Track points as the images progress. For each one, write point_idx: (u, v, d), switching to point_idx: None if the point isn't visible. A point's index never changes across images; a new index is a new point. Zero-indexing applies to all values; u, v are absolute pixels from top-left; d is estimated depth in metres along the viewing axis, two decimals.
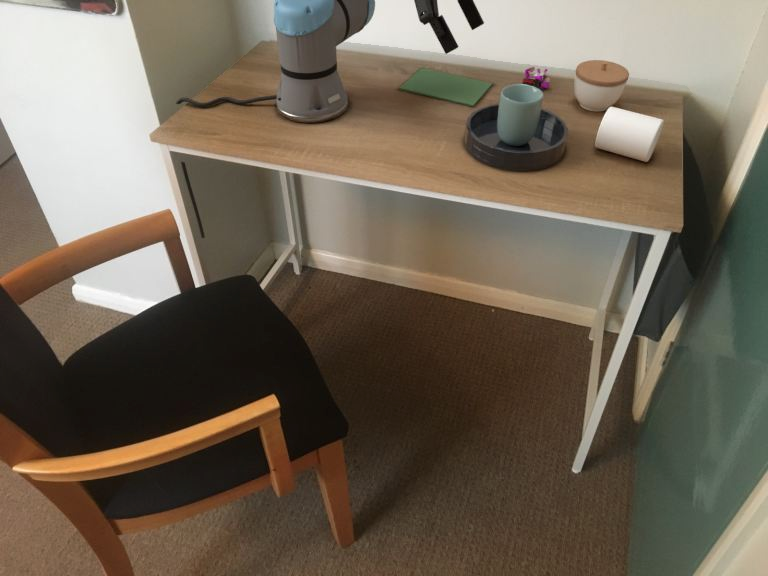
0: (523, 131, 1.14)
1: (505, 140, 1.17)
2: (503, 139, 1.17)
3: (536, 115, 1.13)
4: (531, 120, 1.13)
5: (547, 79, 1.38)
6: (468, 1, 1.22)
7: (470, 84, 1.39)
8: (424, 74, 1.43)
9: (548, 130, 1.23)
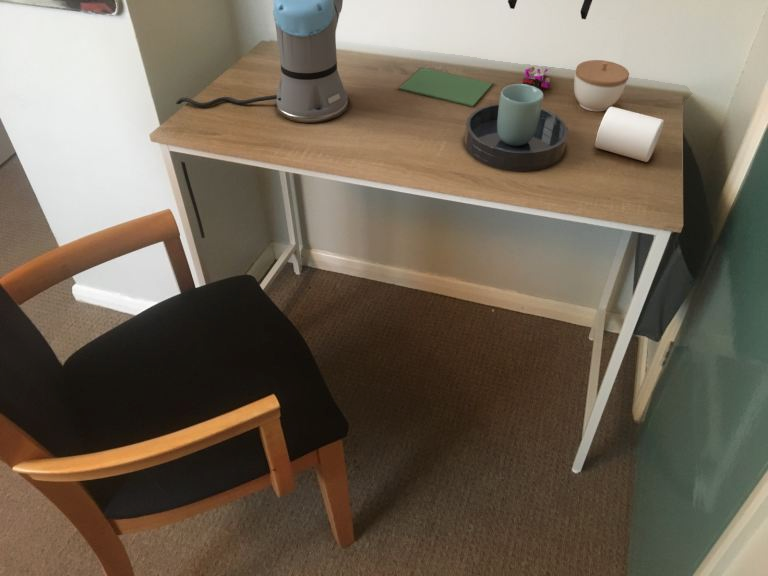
0: (523, 131, 1.14)
1: (505, 140, 1.17)
2: (503, 139, 1.17)
3: (536, 115, 1.13)
4: (531, 120, 1.13)
5: (547, 79, 1.38)
6: None
7: (470, 84, 1.39)
8: (424, 74, 1.43)
9: (548, 130, 1.23)
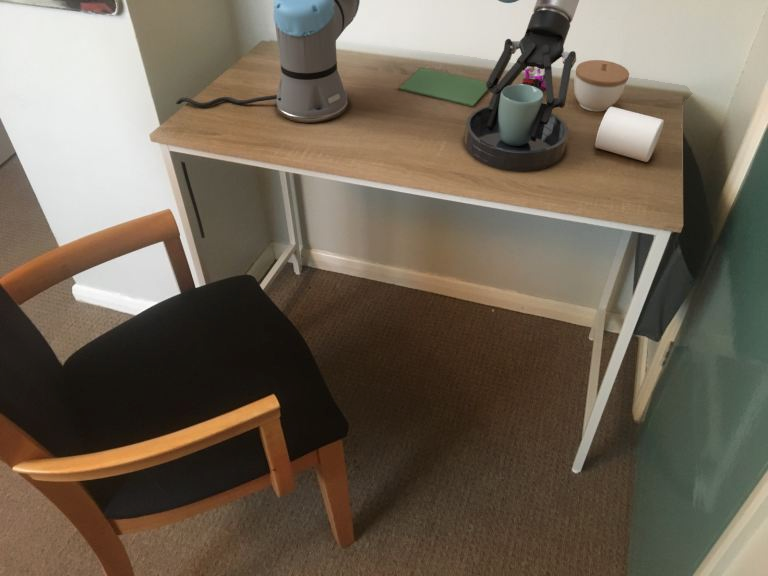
0: (523, 131, 1.14)
1: (505, 140, 1.17)
2: (503, 139, 1.17)
3: (536, 115, 1.13)
4: (531, 120, 1.13)
5: None
6: None
7: (470, 84, 1.39)
8: (424, 74, 1.43)
9: (548, 130, 1.23)
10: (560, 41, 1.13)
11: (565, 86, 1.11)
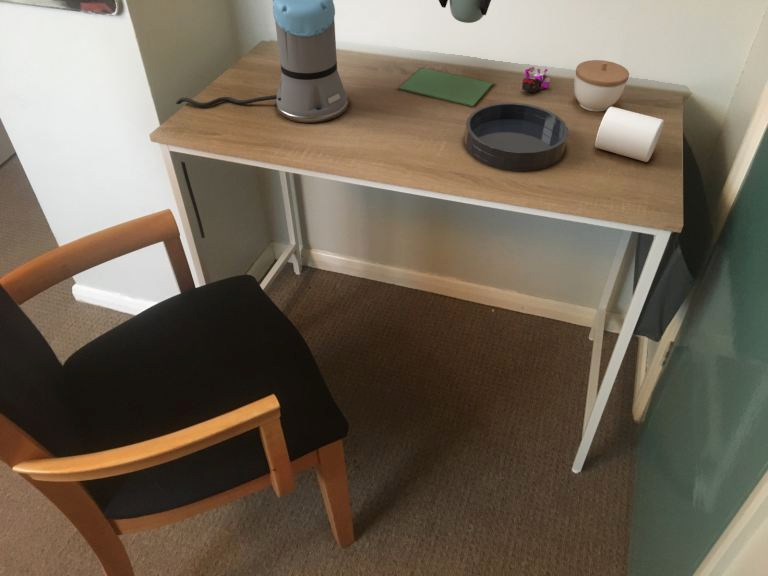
0: (473, 4, 1.17)
1: (457, 15, 1.19)
2: (455, 15, 1.20)
3: None
4: None
5: (547, 79, 1.38)
6: None
7: (470, 84, 1.39)
8: (424, 74, 1.43)
9: (548, 130, 1.23)
10: None
11: None
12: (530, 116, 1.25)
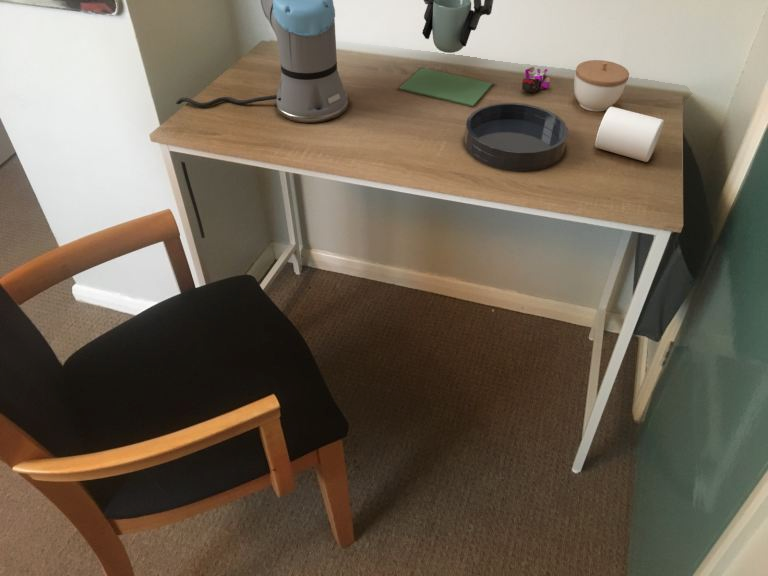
0: (454, 36, 1.27)
1: (439, 46, 1.30)
2: (438, 46, 1.30)
3: (464, 21, 1.26)
4: (460, 25, 1.26)
5: (547, 79, 1.38)
6: None
7: (470, 84, 1.39)
8: (424, 74, 1.43)
9: (548, 130, 1.23)
10: None
11: None
12: (530, 116, 1.25)
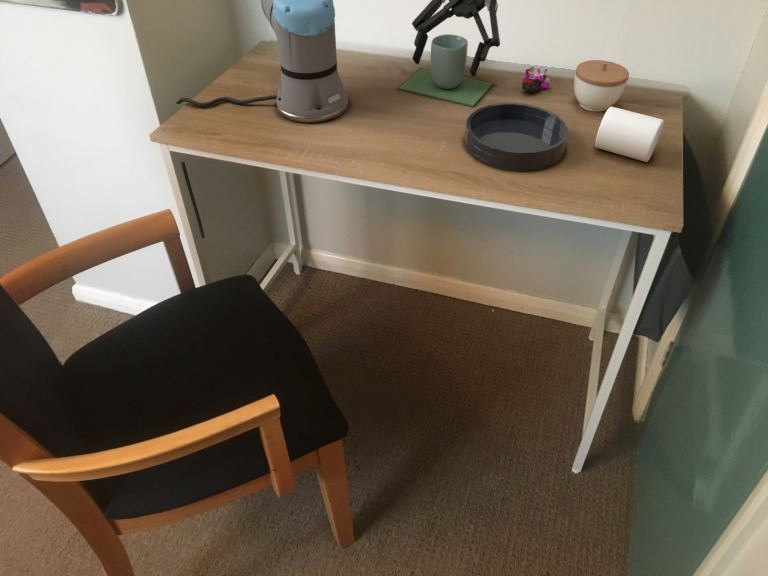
0: (451, 74, 1.33)
1: (437, 83, 1.36)
2: (435, 83, 1.36)
3: (461, 60, 1.31)
4: (457, 64, 1.31)
5: (547, 79, 1.38)
6: (425, 40, 1.36)
7: (470, 84, 1.39)
8: (424, 74, 1.43)
9: (548, 130, 1.23)
10: None
11: (495, 27, 1.29)
12: (530, 116, 1.25)
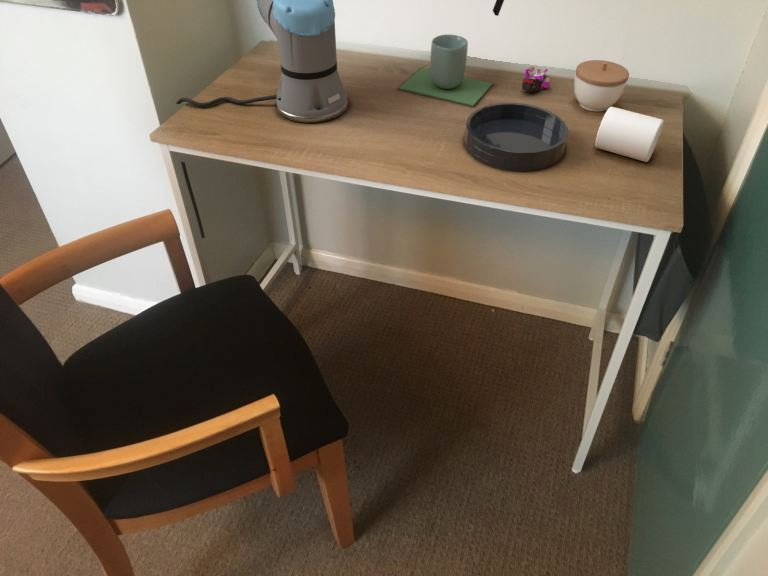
0: (451, 74, 1.33)
1: (437, 83, 1.36)
2: (435, 83, 1.36)
3: (461, 60, 1.31)
4: (457, 64, 1.31)
5: (547, 79, 1.38)
6: None
7: (470, 84, 1.39)
8: (424, 74, 1.43)
9: (548, 130, 1.23)
10: None
11: None
12: (530, 116, 1.25)
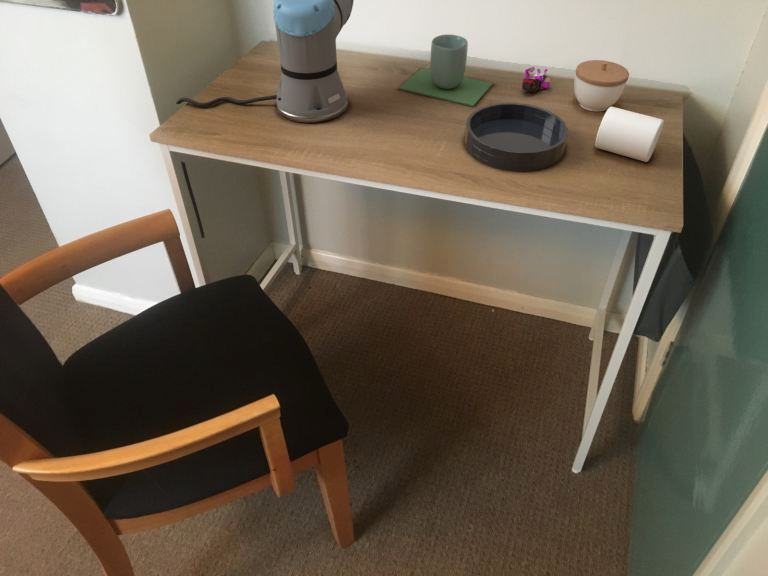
0: (451, 74, 1.33)
1: (437, 83, 1.36)
2: (435, 83, 1.36)
3: (461, 60, 1.31)
4: (457, 64, 1.31)
5: (547, 79, 1.38)
6: None
7: (470, 84, 1.39)
8: (424, 74, 1.43)
9: (548, 130, 1.23)
10: None
11: None
12: (530, 116, 1.25)
